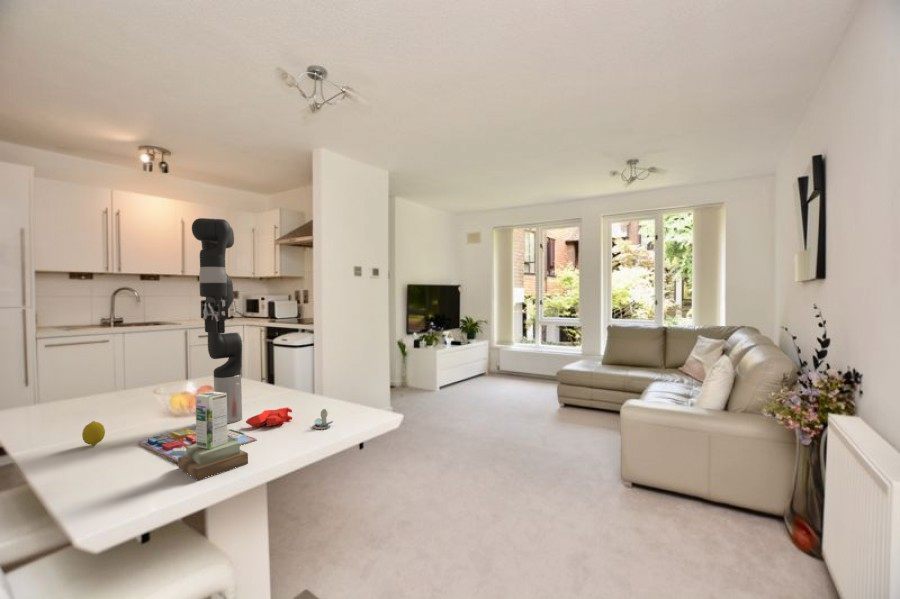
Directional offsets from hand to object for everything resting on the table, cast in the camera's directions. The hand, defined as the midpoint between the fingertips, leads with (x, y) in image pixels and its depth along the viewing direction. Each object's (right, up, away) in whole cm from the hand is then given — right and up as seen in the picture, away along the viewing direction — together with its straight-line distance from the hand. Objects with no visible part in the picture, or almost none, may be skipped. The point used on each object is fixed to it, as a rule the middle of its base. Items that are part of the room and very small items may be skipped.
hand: (214, 332), depth 131 cm
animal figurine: (+9, -36, +20) cm, 42 cm away
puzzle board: (-7, -37, +4) cm, 38 cm away
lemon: (-40, -37, +2) cm, 55 cm away
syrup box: (+8, -30, -16) cm, 35 cm away
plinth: (+8, -36, -15) cm, 40 cm away
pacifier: (+29, -36, +17) cm, 49 cm away
